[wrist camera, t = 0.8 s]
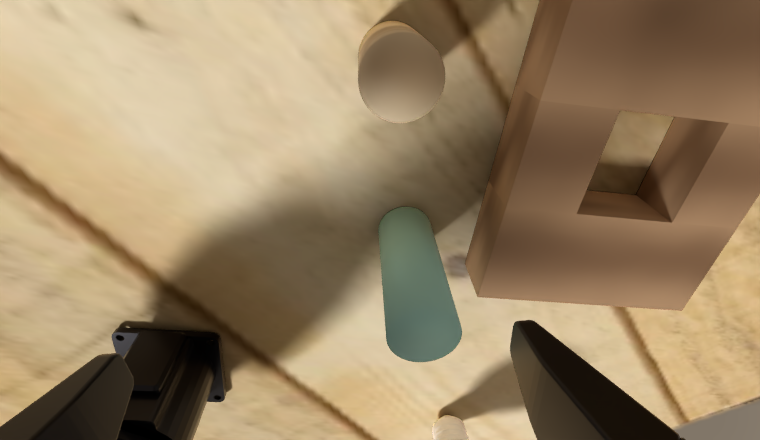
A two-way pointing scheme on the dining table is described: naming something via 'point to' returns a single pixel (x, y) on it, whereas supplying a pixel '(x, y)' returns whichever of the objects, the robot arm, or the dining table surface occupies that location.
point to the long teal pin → (415, 289)
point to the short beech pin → (399, 72)
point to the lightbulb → (449, 429)
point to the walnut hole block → (588, 139)
